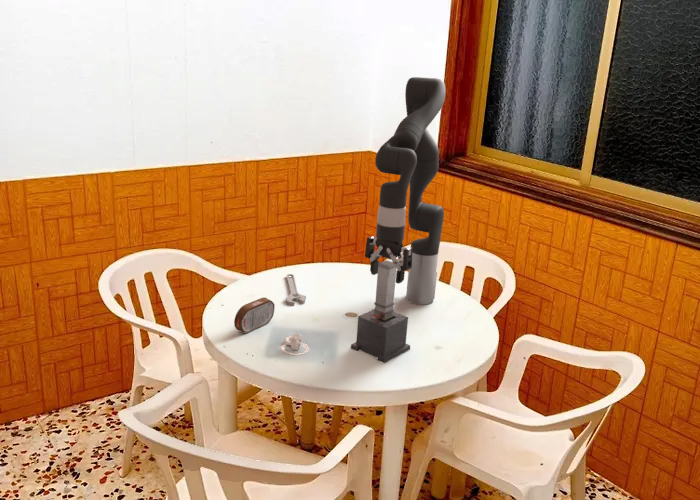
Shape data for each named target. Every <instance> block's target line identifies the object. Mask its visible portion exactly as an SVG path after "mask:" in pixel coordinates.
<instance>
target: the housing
mask: <svg viewBox="0 0 700 500" xmlns="http://www.w3.org/2000/svg"><path fill="white" fill-rule="evenodd" d="M374 309H375V308H374ZM374 309H371V310H369V311H366V312H364V313H362V314H360V315H358V316H357V329H356V342H354V343H352V344H351V345H350V348H351V350H354V351H357V352H358V351H361V352H363V353H365V354H368V355H370V356H372V357H375V358H376V359H377V362H380V363H382V364H386V363H388V362H390V361H391V360H393V359H395V358H397V357H398V356H401V355H402V354H404V353H406V352H408V351H410V350H411V345H410V344H408V343H406V342H407V333H408V325H409V324H408V323H409V317H408V316H406V315H403V314H401V313H398V312H396V311H394V312H393V314H392V316H393V319H392V320H390V321H388V322H382V321H380V320H379V316H377V315H374V314H375V312H374Z"/></svg>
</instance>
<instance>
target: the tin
mask: <svg viewBox="0 0 700 500" xmlns="http://www.w3.org/2000/svg"><path fill="white" fill-rule="evenodd" d="M275 307H276V306H275V302H273V300H270V299H268V298H267V297H260V298H258V299H256V300H253V301H250V302H248V303H246V304H244V305H242V306H240V308H239V309H238V311H237V312H236V314H235V316H234V322H233V323H234V327H235V329H236V331H239V332H242V333H243V334H248V333H252V332H253V331H256V330H257V329H259V328H261V327H264V326H266V325H268V324H269V323H270V321H271V320H272V319H273V317H274V314H275Z"/></svg>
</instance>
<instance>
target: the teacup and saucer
mask: <svg viewBox="0 0 700 500" xmlns="http://www.w3.org/2000/svg"><path fill="white" fill-rule="evenodd" d="M287 346H290V348H291V350H293V351H298V350H300V348H301V346H304V348H305V349H304V351H302V352H298V353H297V352H296V353H294V352H293V353H292V352H289V351H287V350H286V349H285V348H286V347H287ZM280 350H281V352H282V353H285V355H286V354H287V355H290V356H302V355H305V354H306V353H309V351H310V346H309V345H308V344H306V343H305V342H302V335H301V334H294V333H293V334H291V335H289V336H286V337H285V338H284V343H283V344H282V345H281V346H280Z"/></svg>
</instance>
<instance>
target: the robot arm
mask: <svg viewBox="0 0 700 500" xmlns="http://www.w3.org/2000/svg"><path fill="white" fill-rule="evenodd" d="M446 92H447V91H446V84H445V82H444V81H443V80H442V79H440V78H434V77H420V76H419V77H417V76H414V77H410V78H408V80H407V82H406V86H405V92H404V93H405V98H404V99H405V108H406V109H405V110H406V117H404V118H403V119H401V121H400V122H399V124H398V126H397V128H396V129H395V131H394V134H393V135H391V137H390V138H388V139H387V141H385V142H384V143H383V144H382V145H381V146H380V147H379V149H378V150H377V152H376V154H375V160H374V161H375V162H374V163H375V167H376V169H377V170H378V171H379V172H380V173H383V174H387V175H388V174H390V175H397V176H399V179H398V180H396V181H387V182H383V183H382V184H381V186H380V191H379V202H378V203H379V204H378V210H377V218H376V220H377V221H376V231H375V235H372V236H369V237H367V238H366V242H365V243H366V244H365V251H364V258H366V259H369V261H370V267H369V271H370V274H371V275H372V276H375V275H378V263H380V258H386V259H387V260H389V261H390V260H391V262H393V263H394V264H395V265H396V268H397V269H396V280H395V284H401V283H402V282H404V281H405V273H406V271H408V272H407V273H408V274H407V283H406V295H405V298H406V300H407V301H408V302H409V303H412V304H416V305H429V304H431V303H433V302H434V299H435V297H436V296H435V295H436V286H437V280H438V279H437V277H438V271H437V268H438V259H439V251H440V244H441V240H442V239H441V237H442V233H443V232H442V230H443V225H444V220H445V219H444V216H445V211H444V208H443V207H442V206H441V205H437V204H432V203H426V202H423V193H424V191H425V190H426V188H427V187H428V186H429V184H430V183H431V182H432V181H433V179H434V178H435V176H436V175H437V173H438V171H439V169H440V166H439V165H440V163H439V161H440V159H439V158H440V155H439V154H440V153H439V152H440V151H439V150H440V149H439V147H438V144H437V142H436V140H435V139H434V138H433V136H432V134H431V133H430V132H429V130H428V127H429V125H430V124H431V123H432V122H433V120H434V119H435V118H436V116H437V115H438V113H439V112H440V111H441V109H442V108H443V106H444V103H445V100H446ZM408 189H409V190H408ZM408 191H409V196H408ZM408 197H409V198H408ZM407 198H408V201H409V202H408V215H407V211H406V210H407V208H406V207H407ZM407 216H408V217H407ZM406 217H407V218H408V225H409V227H410V229H412V230H414V231H416V232H417V231H418V232H421V233H427V234H428V236H427V237H425V238H417V239H415V240H412V242H411V243H410V247H406V246H404V245H403V242H404V240H405V231H406V230H405V229H406ZM375 247H376V250H375Z"/></svg>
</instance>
